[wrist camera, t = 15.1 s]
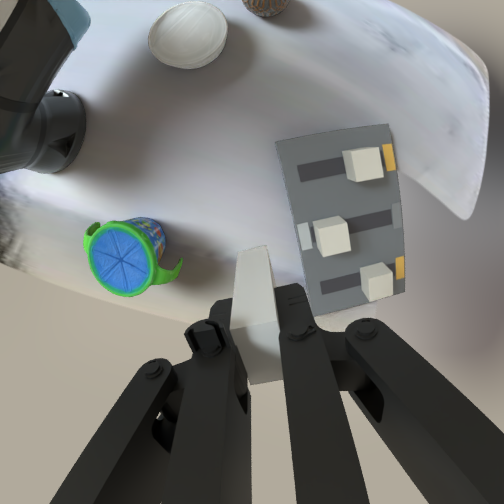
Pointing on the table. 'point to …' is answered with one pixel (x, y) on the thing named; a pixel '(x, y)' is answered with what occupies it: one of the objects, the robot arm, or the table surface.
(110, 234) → the snack cup
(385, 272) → the knob far
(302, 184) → the switch panel
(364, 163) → the knob near
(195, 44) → the ramekin
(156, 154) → the table surface
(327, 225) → the knob mid
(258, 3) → the vase
